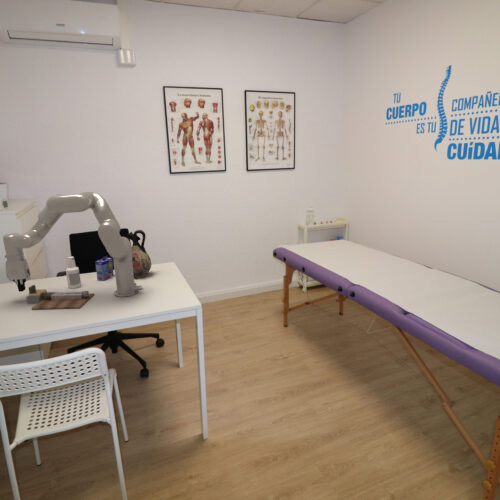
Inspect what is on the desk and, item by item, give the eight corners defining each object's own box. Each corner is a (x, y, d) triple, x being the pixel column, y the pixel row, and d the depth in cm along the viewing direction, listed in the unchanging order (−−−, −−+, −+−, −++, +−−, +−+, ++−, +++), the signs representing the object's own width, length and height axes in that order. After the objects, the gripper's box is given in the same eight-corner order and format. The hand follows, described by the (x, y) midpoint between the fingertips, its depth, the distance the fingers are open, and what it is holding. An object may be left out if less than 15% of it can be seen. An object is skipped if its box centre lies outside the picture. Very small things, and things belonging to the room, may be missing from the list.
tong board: (94, 295, 196) (94, 293, 196) (79, 308, 179) (79, 306, 179) (50, 296, 196) (50, 294, 196) (31, 309, 179) (31, 308, 178)
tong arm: (90, 296, 192) (89, 291, 191) (86, 299, 188) (85, 293, 187) (48, 297, 192) (47, 291, 191) (43, 300, 188) (42, 294, 187)
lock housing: (48, 297, 194) (46, 291, 193) (39, 303, 186) (38, 296, 185) (36, 297, 194) (34, 291, 193) (27, 303, 186) (26, 296, 185)
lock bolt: (46, 291, 192) (45, 284, 191) (40, 295, 186) (38, 288, 185) (35, 291, 192) (33, 284, 191) (28, 296, 186) (27, 288, 185)
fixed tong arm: (83, 295, 193) (83, 291, 192) (81, 297, 190) (81, 293, 190) (48, 296, 192) (48, 292, 192) (46, 298, 190) (45, 293, 190)
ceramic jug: (123, 280, 219) (117, 232, 212) (132, 272, 234) (127, 227, 226) (150, 279, 219) (145, 232, 211) (157, 271, 233) (153, 226, 226)
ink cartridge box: (104, 281, 218) (101, 258, 214) (96, 280, 219) (93, 257, 216) (114, 276, 227) (112, 254, 223) (107, 275, 229) (104, 253, 225)
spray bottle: (76, 289, 206) (71, 259, 201) (65, 288, 207) (61, 258, 202) (83, 285, 212) (79, 255, 207) (73, 284, 213) (69, 255, 209)
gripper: (-4, 259, 180) (3, 293, 185) (25, 259, 180) (32, 293, 185) (5, 255, 187) (12, 288, 192) (34, 255, 188) (40, 287, 192)
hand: (22, 290), depth 189 cm, fingers closed
